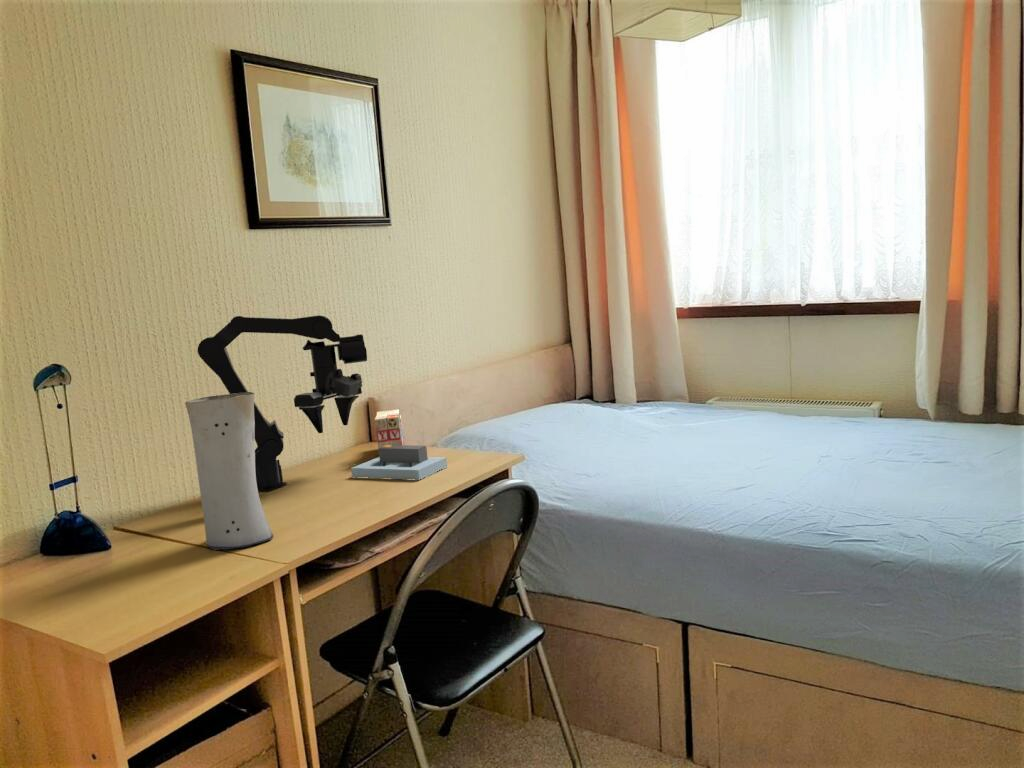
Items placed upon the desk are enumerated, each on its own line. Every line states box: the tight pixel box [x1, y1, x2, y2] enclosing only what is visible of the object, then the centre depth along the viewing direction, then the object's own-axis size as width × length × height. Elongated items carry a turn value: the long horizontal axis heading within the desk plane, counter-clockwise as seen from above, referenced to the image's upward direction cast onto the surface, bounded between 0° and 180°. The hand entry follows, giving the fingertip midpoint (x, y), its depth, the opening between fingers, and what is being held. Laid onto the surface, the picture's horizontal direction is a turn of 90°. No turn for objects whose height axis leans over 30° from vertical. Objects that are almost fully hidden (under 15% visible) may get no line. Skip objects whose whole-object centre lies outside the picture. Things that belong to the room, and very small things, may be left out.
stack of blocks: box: [374, 408, 406, 448], centre depth 213 cm, size 21×6×12 cm, turn 7°
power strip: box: [377, 444, 429, 467], centre depth 192 cm, size 12×4×6 cm, turn 62°
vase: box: [184, 391, 274, 552], centre depth 147 cm, size 13×14×28 cm
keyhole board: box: [351, 456, 448, 481], centre depth 191 cm, size 20×12×2 cm, turn 62°
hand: (333, 429), depth 192 cm, fingers open, 9 cm apart
